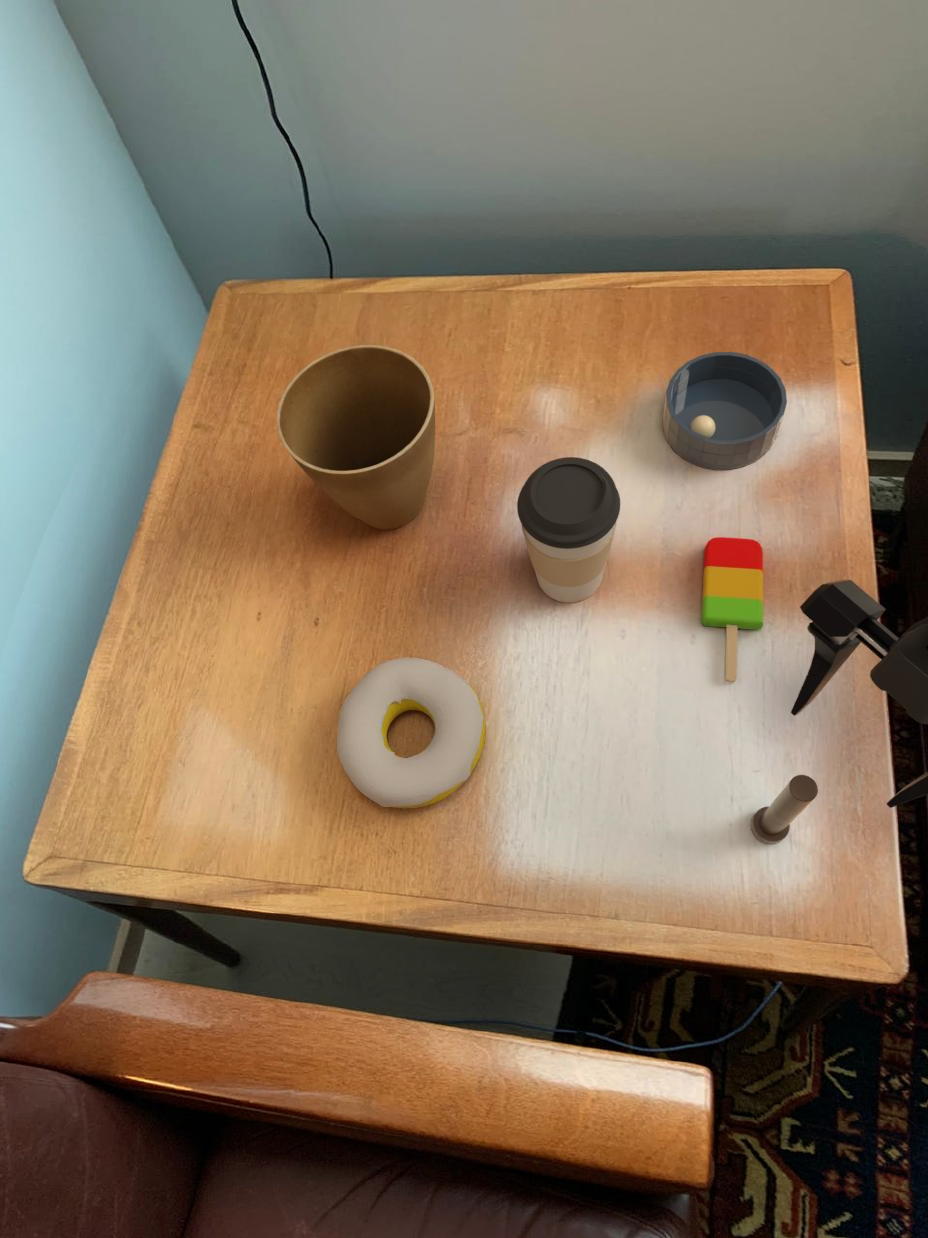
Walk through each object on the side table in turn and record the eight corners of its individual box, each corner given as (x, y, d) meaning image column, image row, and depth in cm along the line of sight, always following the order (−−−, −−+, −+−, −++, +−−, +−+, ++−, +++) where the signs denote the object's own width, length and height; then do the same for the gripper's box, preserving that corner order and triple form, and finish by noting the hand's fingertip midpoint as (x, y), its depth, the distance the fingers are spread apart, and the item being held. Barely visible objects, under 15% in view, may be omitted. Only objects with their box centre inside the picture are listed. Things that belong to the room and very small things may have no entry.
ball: (700, 421, 93) (703, 405, 90) (718, 435, 92) (722, 419, 89) (683, 435, 92) (685, 420, 90) (701, 449, 91) (704, 434, 89)
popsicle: (760, 547, 86) (764, 537, 85) (760, 687, 80) (764, 680, 78) (703, 543, 87) (705, 534, 86) (698, 682, 81) (701, 675, 79)
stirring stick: (767, 802, 76) (801, 759, 64) (794, 828, 74) (834, 789, 63) (743, 825, 75) (773, 786, 63) (770, 851, 74) (806, 817, 62)
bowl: (715, 362, 97) (721, 333, 93) (801, 423, 92) (811, 394, 88) (639, 424, 94) (642, 397, 90) (723, 489, 90) (730, 464, 86)
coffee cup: (516, 604, 87) (505, 525, 73) (535, 528, 90) (527, 439, 77) (606, 619, 85) (611, 540, 71) (621, 540, 88) (629, 451, 75)
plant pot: (411, 424, 98) (382, 319, 84) (482, 512, 92) (464, 416, 78) (298, 490, 96) (248, 394, 82) (363, 586, 90) (322, 500, 76)
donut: (444, 840, 77) (436, 828, 73) (315, 777, 81) (300, 762, 77) (511, 705, 82) (507, 686, 78) (386, 652, 86) (376, 630, 82)
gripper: (856, 521, 55) (706, 687, 63) (1123, 736, 48) (915, 895, 56) (900, 517, 64) (763, 665, 72) (1133, 700, 56) (951, 842, 64)
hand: (840, 757), depth 66 cm, fingers open, 9 cm apart
